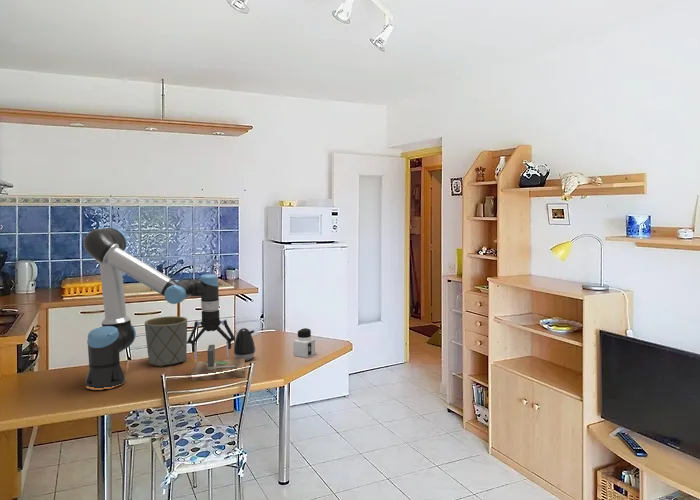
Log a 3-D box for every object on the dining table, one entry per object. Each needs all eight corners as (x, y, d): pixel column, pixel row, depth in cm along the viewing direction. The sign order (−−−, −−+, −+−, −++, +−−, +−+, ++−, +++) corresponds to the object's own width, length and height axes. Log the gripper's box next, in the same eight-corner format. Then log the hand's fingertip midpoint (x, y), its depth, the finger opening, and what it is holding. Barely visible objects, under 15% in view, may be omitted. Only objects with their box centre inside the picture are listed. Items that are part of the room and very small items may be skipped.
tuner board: (191, 380, 226) (191, 373, 226) (195, 368, 244) (195, 361, 244) (244, 377, 231) (244, 369, 230) (244, 364, 248) (244, 358, 248)
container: (315, 354, 264) (315, 328, 263) (306, 358, 258) (305, 331, 257) (303, 351, 269) (302, 326, 267) (293, 355, 262) (292, 329, 261)
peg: (206, 373, 227) (205, 351, 226) (208, 365, 237) (207, 345, 236) (235, 371, 230) (234, 349, 229) (235, 364, 239) (234, 343, 238)
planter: (155, 370, 241) (153, 327, 239) (140, 361, 255) (138, 320, 253) (195, 362, 253) (194, 320, 251) (178, 353, 268) (177, 314, 266)
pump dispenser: (251, 362, 251) (250, 331, 250) (230, 361, 253) (229, 330, 252) (258, 356, 261) (258, 326, 260) (238, 355, 263) (238, 325, 262)
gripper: (179, 313, 228) (181, 361, 230) (239, 310, 232) (240, 357, 234) (181, 309, 235) (183, 356, 237) (239, 306, 240) (240, 353, 242)
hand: (212, 357), depth 236 cm, fingers open, 13 cm apart
